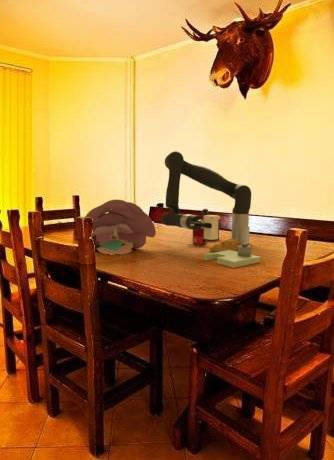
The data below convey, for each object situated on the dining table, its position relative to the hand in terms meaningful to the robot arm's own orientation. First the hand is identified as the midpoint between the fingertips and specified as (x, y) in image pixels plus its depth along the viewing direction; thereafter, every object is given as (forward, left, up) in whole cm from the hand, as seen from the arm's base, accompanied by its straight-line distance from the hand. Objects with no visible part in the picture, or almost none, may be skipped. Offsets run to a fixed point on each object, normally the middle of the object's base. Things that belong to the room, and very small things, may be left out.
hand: (215, 225), depth 165 cm
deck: (-1, +10, -15) cm, 18 cm away
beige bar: (0, -3, -7) cm, 7 cm away
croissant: (-16, -7, -16) cm, 24 cm away
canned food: (-18, -30, -15) cm, 38 cm away
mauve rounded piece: (+30, -40, -15) cm, 52 cm away
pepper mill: (-34, -42, -15) cm, 56 cm away
